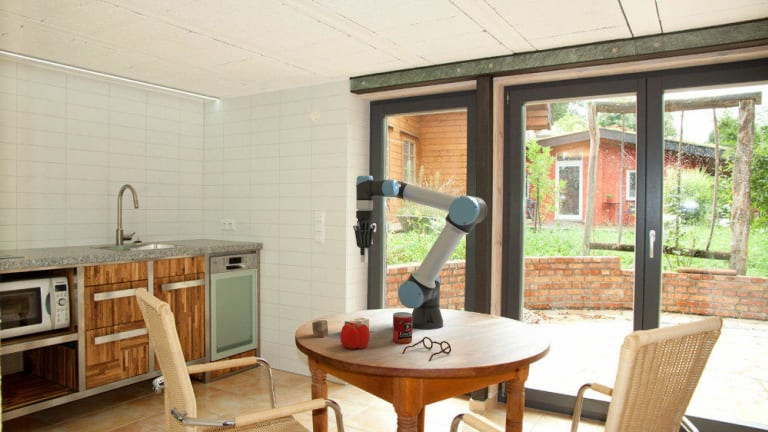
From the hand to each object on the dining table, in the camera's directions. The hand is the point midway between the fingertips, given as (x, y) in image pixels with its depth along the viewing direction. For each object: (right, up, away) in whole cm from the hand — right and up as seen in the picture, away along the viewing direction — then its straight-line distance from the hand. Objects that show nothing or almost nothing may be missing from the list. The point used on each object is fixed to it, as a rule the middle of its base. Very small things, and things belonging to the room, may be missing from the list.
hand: (364, 262), depth 233 cm
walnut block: (-17, -28, -21) cm, 39 cm away
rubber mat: (-5, -29, -18) cm, 34 cm away
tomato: (-2, -29, -38) cm, 48 cm away
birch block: (-6, -26, -19) cm, 32 cm away
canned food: (+16, -29, -28) cm, 44 cm away
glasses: (+24, -30, -45) cm, 59 cm away
